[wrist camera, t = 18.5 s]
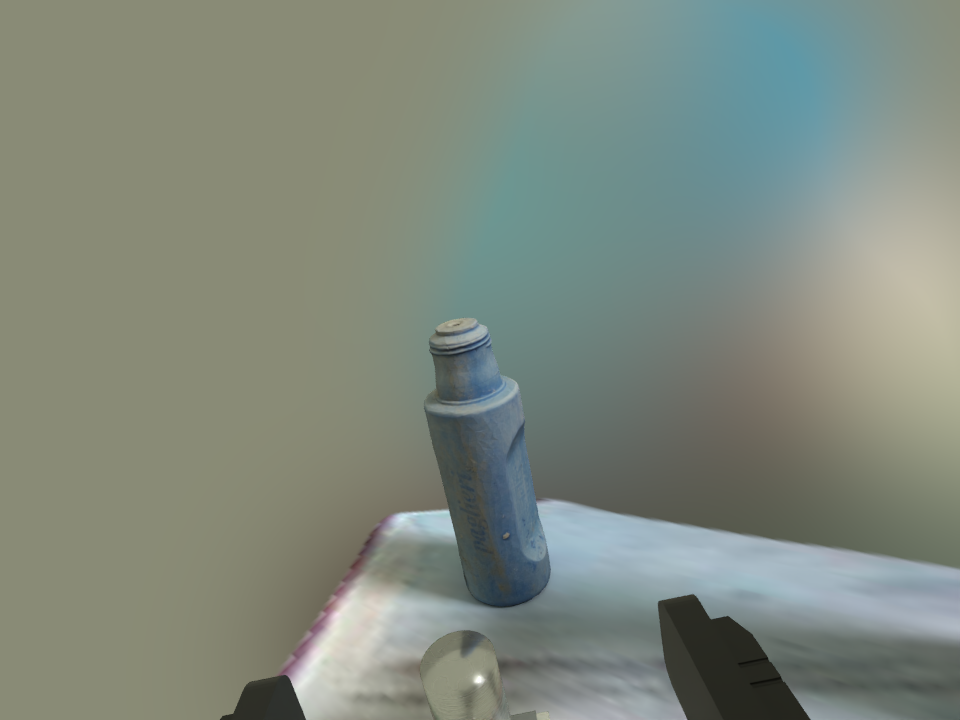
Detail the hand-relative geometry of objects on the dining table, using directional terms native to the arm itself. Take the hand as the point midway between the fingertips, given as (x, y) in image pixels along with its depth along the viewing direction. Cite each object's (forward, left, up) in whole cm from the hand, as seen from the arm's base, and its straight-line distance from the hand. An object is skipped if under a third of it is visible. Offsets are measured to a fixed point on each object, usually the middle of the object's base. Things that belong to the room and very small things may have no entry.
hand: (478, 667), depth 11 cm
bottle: (+30, -29, -32) cm, 52 cm away
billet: (+16, -10, -31) cm, 36 cm away
